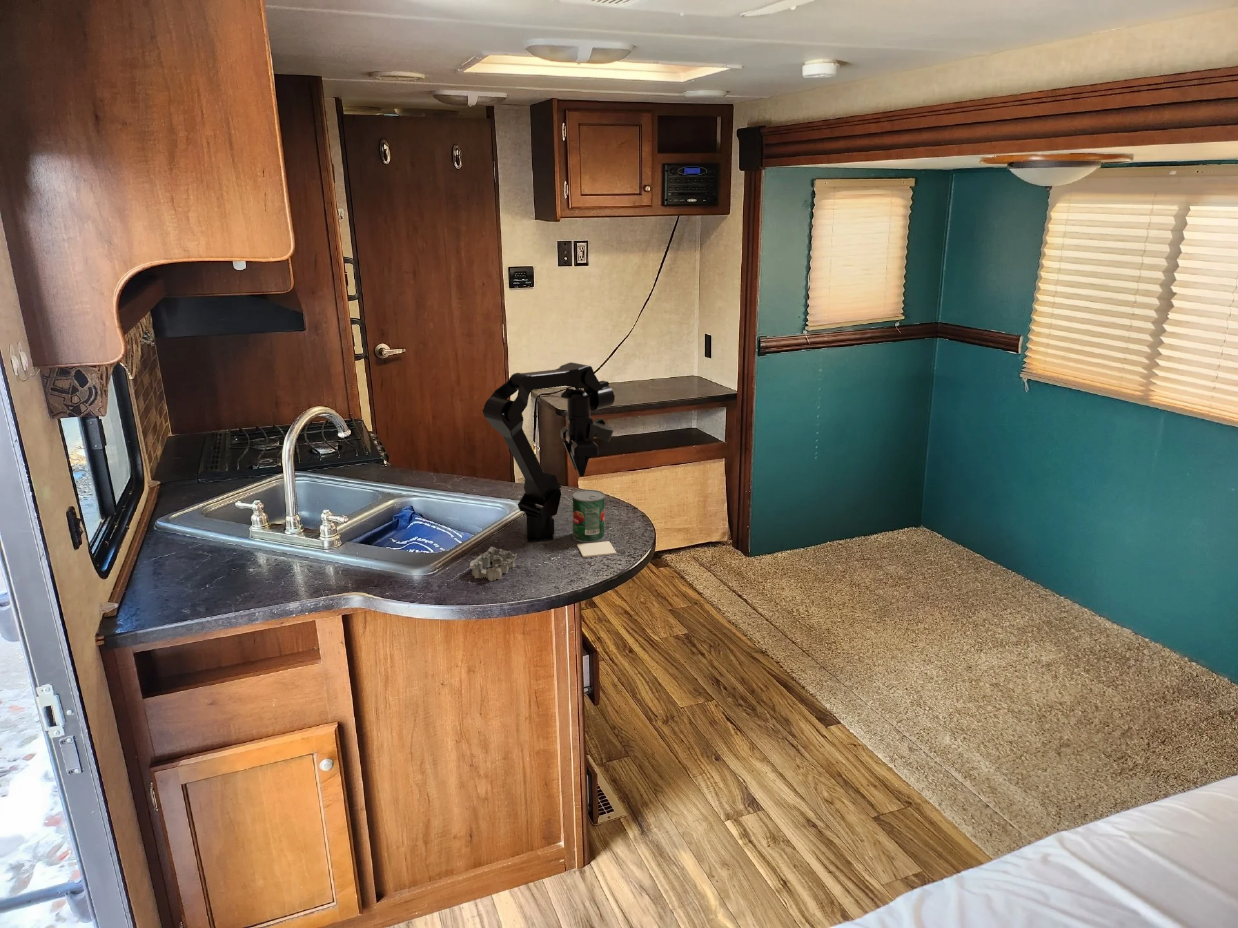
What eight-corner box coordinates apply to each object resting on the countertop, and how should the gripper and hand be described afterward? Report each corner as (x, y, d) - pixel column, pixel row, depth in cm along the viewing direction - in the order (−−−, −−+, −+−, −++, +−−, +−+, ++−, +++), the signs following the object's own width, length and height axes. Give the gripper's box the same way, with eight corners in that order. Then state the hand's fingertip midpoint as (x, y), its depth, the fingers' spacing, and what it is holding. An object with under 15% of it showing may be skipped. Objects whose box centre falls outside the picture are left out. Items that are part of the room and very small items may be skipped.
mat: (583, 557, 194) (583, 555, 194) (577, 545, 200) (577, 544, 200) (616, 554, 196) (616, 552, 196) (609, 542, 202) (609, 541, 202)
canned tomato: (566, 535, 206) (565, 494, 203) (590, 527, 211) (590, 487, 208) (586, 545, 201) (586, 502, 197) (611, 537, 206) (611, 495, 202)
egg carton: (496, 584, 181) (495, 567, 180) (466, 578, 184) (465, 561, 183) (520, 565, 190) (520, 548, 189) (492, 559, 193) (491, 543, 192)
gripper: (619, 421, 201) (619, 482, 205) (601, 403, 218) (601, 460, 223) (574, 424, 198) (574, 485, 203) (559, 405, 215) (560, 462, 220)
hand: (579, 473), depth 212 cm, fingers open, 5 cm apart
